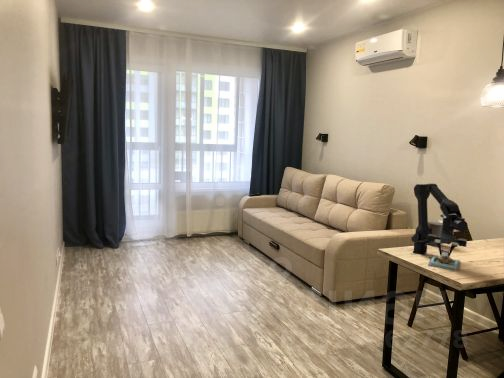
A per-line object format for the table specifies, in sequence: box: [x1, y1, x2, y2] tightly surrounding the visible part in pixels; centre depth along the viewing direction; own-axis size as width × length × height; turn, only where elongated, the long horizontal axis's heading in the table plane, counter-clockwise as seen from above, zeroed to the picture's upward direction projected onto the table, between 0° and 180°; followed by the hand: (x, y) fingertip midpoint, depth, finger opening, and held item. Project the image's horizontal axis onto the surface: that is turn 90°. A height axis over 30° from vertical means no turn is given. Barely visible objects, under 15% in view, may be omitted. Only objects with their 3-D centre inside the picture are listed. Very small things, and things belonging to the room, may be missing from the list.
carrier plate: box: [427, 255, 461, 272], centre depth 217 cm, size 14×18×3 cm
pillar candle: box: [427, 220, 443, 247], centre depth 254 cm, size 10×10×15 cm
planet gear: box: [436, 249, 453, 264], centre depth 215 cm, size 7×7×6 cm
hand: (444, 256), depth 215 cm, fingers closed on planet gear, 4 cm apart
